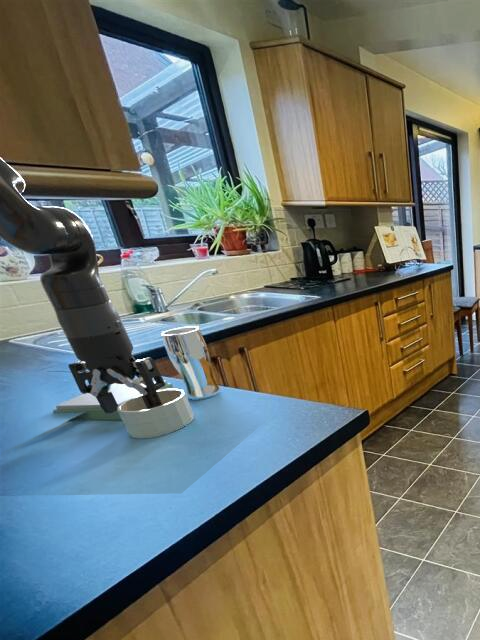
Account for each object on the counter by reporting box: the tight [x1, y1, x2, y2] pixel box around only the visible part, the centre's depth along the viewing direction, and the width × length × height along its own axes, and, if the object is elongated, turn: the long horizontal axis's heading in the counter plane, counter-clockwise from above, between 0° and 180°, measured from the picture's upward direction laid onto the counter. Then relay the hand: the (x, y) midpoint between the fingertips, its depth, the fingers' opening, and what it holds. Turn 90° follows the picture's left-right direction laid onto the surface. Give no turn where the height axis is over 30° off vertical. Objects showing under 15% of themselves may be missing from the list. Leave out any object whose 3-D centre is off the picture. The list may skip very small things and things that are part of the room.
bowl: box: [117, 388, 195, 439], centre depth 77 cm, size 10×10×6 cm
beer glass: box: [160, 326, 221, 401], centre depth 88 cm, size 7×7×15 cm
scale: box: [52, 380, 175, 422], centre depth 86 cm, size 14×13×3 cm
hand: (134, 410), depth 77 cm, fingers open, 8 cm apart
